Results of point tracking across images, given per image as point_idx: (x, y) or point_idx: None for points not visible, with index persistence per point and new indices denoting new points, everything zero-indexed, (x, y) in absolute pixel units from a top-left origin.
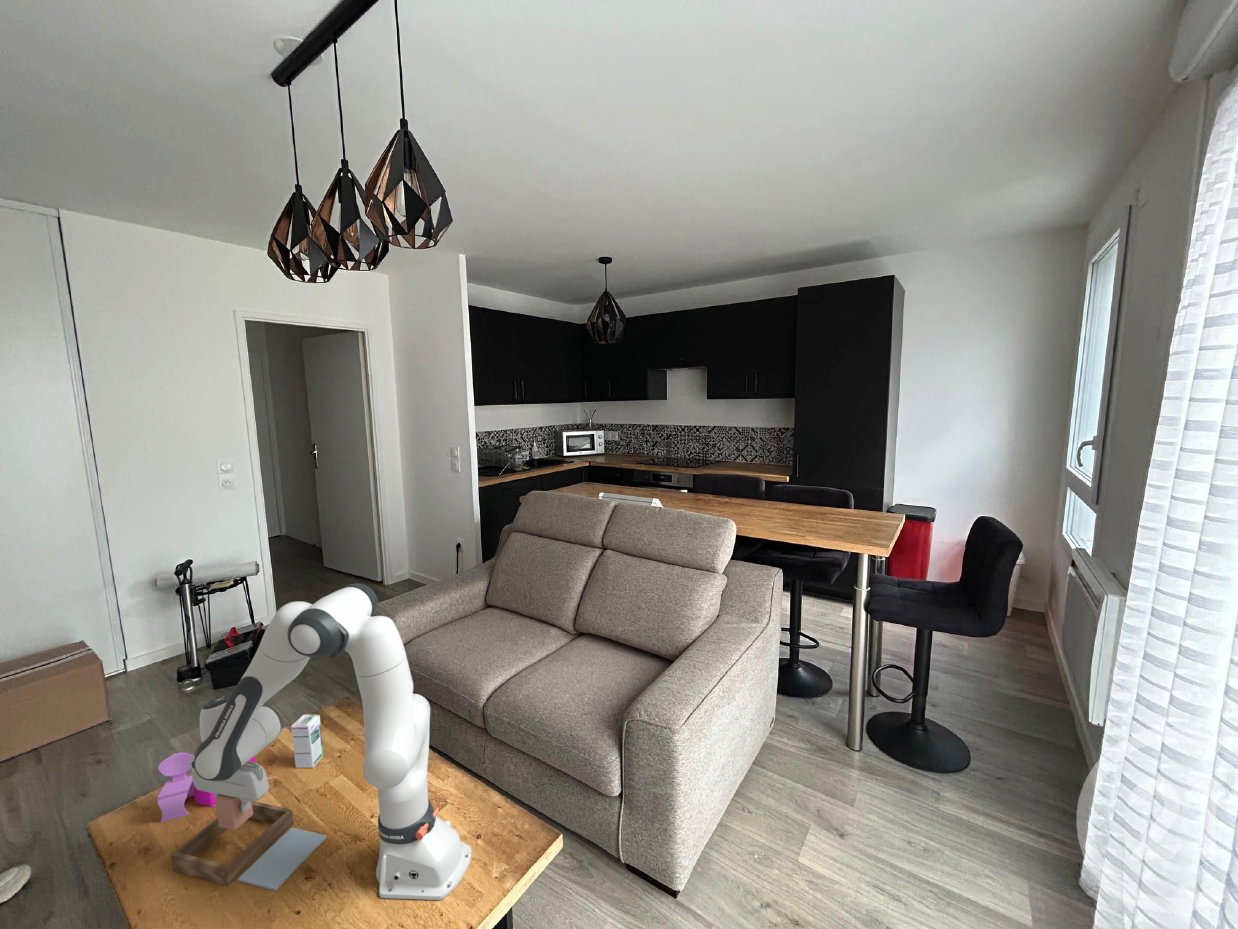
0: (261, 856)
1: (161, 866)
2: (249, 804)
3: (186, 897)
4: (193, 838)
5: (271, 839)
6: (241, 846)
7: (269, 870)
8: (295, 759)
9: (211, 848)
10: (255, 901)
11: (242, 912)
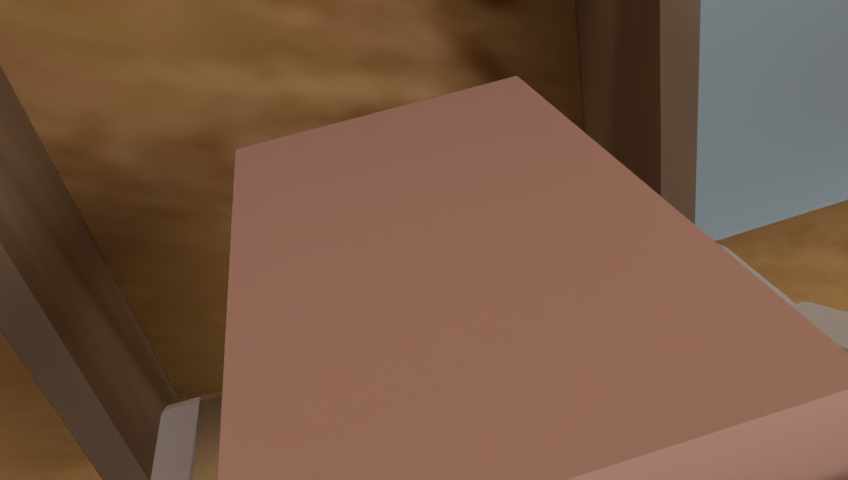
0: None
1: (26, 465)
2: (752, 270)
3: None
4: (85, 425)
5: None
6: (366, 100)
7: (809, 127)
8: None
9: (153, 235)
10: (841, 246)
11: (821, 303)
